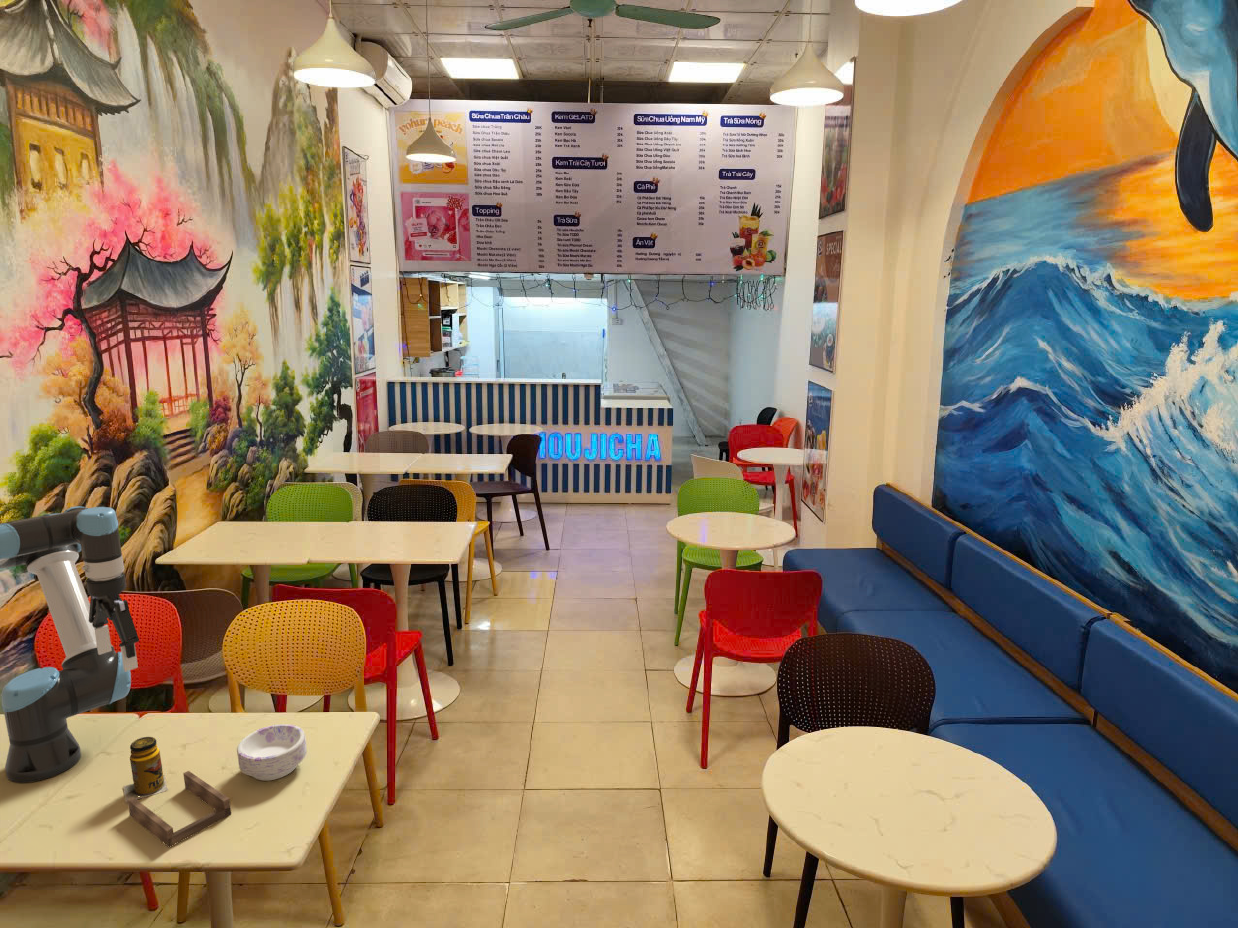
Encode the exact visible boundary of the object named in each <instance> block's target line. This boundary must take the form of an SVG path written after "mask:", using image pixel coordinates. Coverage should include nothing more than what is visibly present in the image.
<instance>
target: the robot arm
mask: <svg viewBox="0 0 1238 928" xmlns="http://www.w3.org/2000/svg"><path fill="white" fill-rule="evenodd" d="M116 513H117V512H116V510H115V509H114V508H113V507H106V506H96V507H95V506H94V507H89V508H88V507H85V506H82V505H81V506H77V505H76V506H71V507H69V508H67V509H65V510H64V511H63V512H57V513H49V514H48V513H47V514H43V515H40V516H39V515H37V516H34V517H28V518H23V519H18V520H14V521H13V520H12V521H8V522H7V521H6V522H2V523H0V569H9V568H13V567H17V566H24V565H25V567H26V570H27V572H28V573H30V574H33V575H36V576H37V579H38V581H39V584H40V588H41V589H42V592H43V596H44V598H45V601H46V603H47V606H48V610H49V613H50V615H51V618H52V620H53V623H54V626H55V630H56V631H57V635H58V638H59V640H60V643H61V646H62V649H63V651H64V654H65V658H64V660H63V661H62V662H61V668H62V670H58V669H57V668H56V667H53V666H44V667H42V668H41V667H38V668H35V669H31V670H28V671H25V672H24V673H21V674H19V675H17V676H15V677H14V678H12V679H10V680H9V681H8V683H6V684H5V685H4V687H3V688H2V690H1V693H0V694H1V696H0V697H1V709H2V711H3V713H4V714H3V715H4V720H5V724H6V725H5V726H6V731H7V736H8V741H9V747H8V752H7V757H6V761H5V766H4V771H5V776H6V779H7V780H8V781H10V782H13V783H17V784H19V783H24V784H25V783H26V784H27V783H32V782H33V783H36V782H38V781H42V780H46V779H50V778H53V777H56V776H58V775H60V774H62V773H64V772H66V771H68V770H69V769H71V768H72V767H74V765H76V764H77V763H78V762H79V761H80V759H81V756H82V751H81V746H80V744H79V742H78V741H77V740H76V738H75V736H74V735H73V733H72V732H71V731H70V729H69V727H68V721H67V719H68V718H71V717H74V716H76V715H79V714H82V713H85V712H88V711H92V710H94V709H97V708H100V707H103V706H106V705H111V704H112V703H114V702H116V701H118V700H121V699H124V698H126V696H128V695H129V692H130V690H131V685H132V677H131V676H132V673H131V670H135V669H138V668H139V666H138V665H139V664H138V657H137V650H136V643H138V642H139V641H140V639H139V635H138V632H137V628H136V626H135V623H134V620H133V617H132V615H131V612H130V609H129V602H128V600H127V599H124V600H122V598H121V597H120V594H121V593H122V592H124V591H125V590H126V588H127V582H126V581H127V580H126V574H125V573H124V572H125V566H124V565H125V564H124V557H123V553H122V546H121V539H120V532H119V521H118V517H117V514H116ZM80 552H81V554H82V561H83V565H82V567H81V569H82V571H84V573H85V577H86V578H87V579H86V580H85V583H86V587H87V589H86V590H87V593H88V594H87V593H86V590H85V587H84V584H83V581H82V579H81V577H80V574H79V572H78V569H77V566H76V563H77V561H78V560H79V557H80V555H79V553H80ZM88 595H89V596H90V597H89V598H90V600H89V598H88ZM109 621H111V622H112V624H113V627H114V629H115V630H116V633H117V635H118V638H119V639H120V642H121V643H119V644H118V646H119V647H120V651H116V649H115V647H114V645H112V643H111V636H110V629H109V625H108V624H109Z"/></svg>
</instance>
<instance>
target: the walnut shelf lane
mask: <svg viewBox="0 0 1238 928" xmlns="http://www.w3.org/2000/svg"><path fill="white" fill-rule="evenodd" d="M182 774H183V779H184V780H183V781H184V789H186V790H187V791H189V793H191V794H193V795H194V796H196V797H197V798H198V797H199V800H201V801H202V800H203V802H204V803H205V804H207V805H208V806H209V807H211V808H212V809H214V811H212V812H211V813H208V814H206V815H205V816H202V817H200V818H198V819H197V820H195V821H193V822H191V823H189V824H187V825H185V826H183V827H181V828H180V829H178V830H175V831H174V828H173V827H172V826H171V825H170V824H169V823H167V822H166V821H164V820H163V819H162V818H161V817H160V816H158V815H157V814H155V812H153V811H152V810H151V809H150V808H148V807H147V806H145V805H144V804H143V803H141V802H140V801H139V799H135V798H134V797H132V798H130V799H128V800H127V801H128V802H127V806H128V813H129V816H130V817H131V818H132V819H133V820H135V821H136V822H137V823H138V824H140V825H141V826H142V827H144V829H145V830H147V831H148V830H149V831H150V832H149V831H148V832H149V833H150V834H152V835H153V836H154V835H155V836H154V837H155V838H157V839H158V838H159V839H160V840H159V839H158V840H159V841H160V842H162V843H163V842H164V843H165V844H167V845H168V846H169V847H170V846H171V847H173V846H175V845H176V844H175V843H177V842H179V841H181V840H183V839H185V838H186V839H188V838H190V837H192V836H193V834H194V835H195V833H196V834H198V833H199V832H202V831H203V830H205V829H206V828H208V826H209V827H210V826H212V825H214V824H216V823H218V822H219V821H222V820H224V819H225V818H227V817H229V816H231V815H232V810H231V801H230V798H229V797H228V796H227V795H226V794H223V793H222V792H221V791H219V790H218V789H216V788H215V787H214V786H212V785H210V784H208V783H207V782H206V781H204V780H203V779H202V778H200V777H198V776H197V775H196V774H194V773H192V772H191V771H190V770H186V771H185V772H183V773H182ZM197 832H198V833H197ZM191 835H192V836H191ZM187 837H188V838H187ZM186 839H185V840H186ZM183 841H184V840H183ZM181 842H182V841H181ZM164 843H163V844H164ZM179 843H180V842H179ZM165 844H164V845H165ZM174 844H175V845H174ZM177 844H178V843H177ZM167 845H166V846H167ZM172 845H173V846H172ZM168 846H167V847H168ZM169 847H168V848H169ZM171 847H170V848H171Z"/></svg>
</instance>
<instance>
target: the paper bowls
mask: <svg viewBox="0 0 1238 928" xmlns="http://www.w3.org/2000/svg"><path fill="white" fill-rule="evenodd" d="M306 740H307V739H306V733H305V732H304V730H303V729H302V727H299V726H297V725H294V724H287V723H286V724H284V723H283V724H281V723H280V724H272V725H268V726H264V727H262V728H259V729H257V730H256V729H255V731H253V732H251V733H249V734H248V735H246V736H245V737H244V738H242V740H241V741H240V742H239V743H238V745H237V748H236V754H237V759H238V768H239V770H240V771H241V772H242V773H243V774H245V775H247V776H251V777H252V778H254V779H256V780H260V781H267V782H268V781H274V780H278V779H281V778H283V777H285V776H288V775H289V774H290V773H292V772H293V771H294V770H295V769H296V768H297V766H298V765H300V763H301V762H303V760H305V758H306V756H307V750H308V748H307V741H306Z"/></svg>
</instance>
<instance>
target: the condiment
mask: <svg viewBox="0 0 1238 928" xmlns="http://www.w3.org/2000/svg"><path fill="white" fill-rule="evenodd" d="M129 747H130V748H129V749H130V757H129V761H130V767H131V775H132V781H133V783H132V784H127V785H124V786H123V787H122V788H123V793H124V795H123V796H124V802H125V804H128V801H127V800H128V799H130V798H132V797H134V798H135V799H136V800H140V799H144V798H146V797H147V798H148V797H152V796H153V795H156V794H160V793H164V792H166V791H168V790H169V789H168V784H167V781H166V777H165V774H164V773H163V764H162V757H161V752H160V748H159V747H158V744H157V739H156V737H153V736H145V737H140V738H137V739H136V740H134V741H133V742H132V743H131V744H130V746H129ZM138 796H140V797H138Z"/></svg>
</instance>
